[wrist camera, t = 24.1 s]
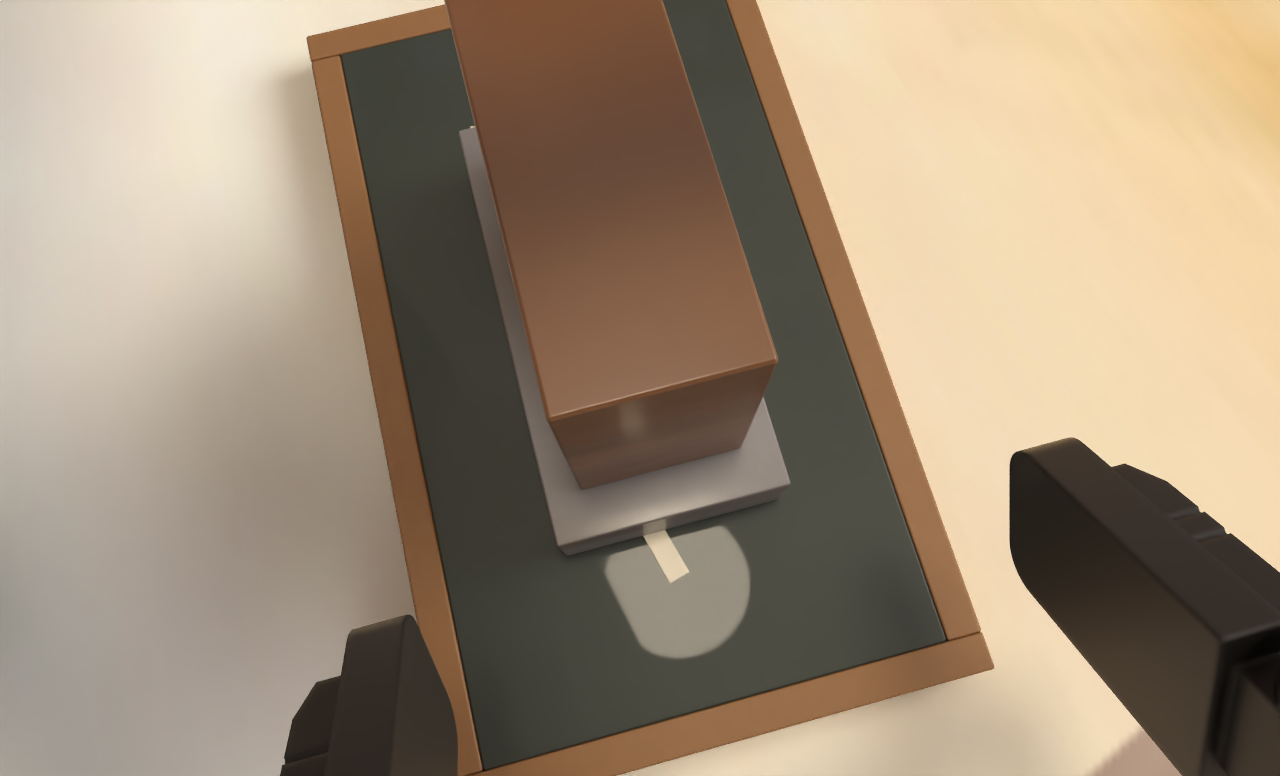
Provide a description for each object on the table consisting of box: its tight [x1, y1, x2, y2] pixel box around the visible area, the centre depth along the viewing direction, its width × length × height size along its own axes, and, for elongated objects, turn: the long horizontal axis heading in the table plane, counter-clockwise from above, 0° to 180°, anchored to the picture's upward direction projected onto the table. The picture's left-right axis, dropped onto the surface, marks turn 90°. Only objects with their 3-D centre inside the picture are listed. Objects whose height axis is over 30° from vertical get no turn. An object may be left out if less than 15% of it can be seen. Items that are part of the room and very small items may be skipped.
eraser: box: [444, 0, 790, 556], centre depth 18 cm, size 10×5×8 cm, turn 15°
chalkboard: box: [307, 0, 994, 776], centre depth 22 cm, size 12×20×1 cm, turn 15°
